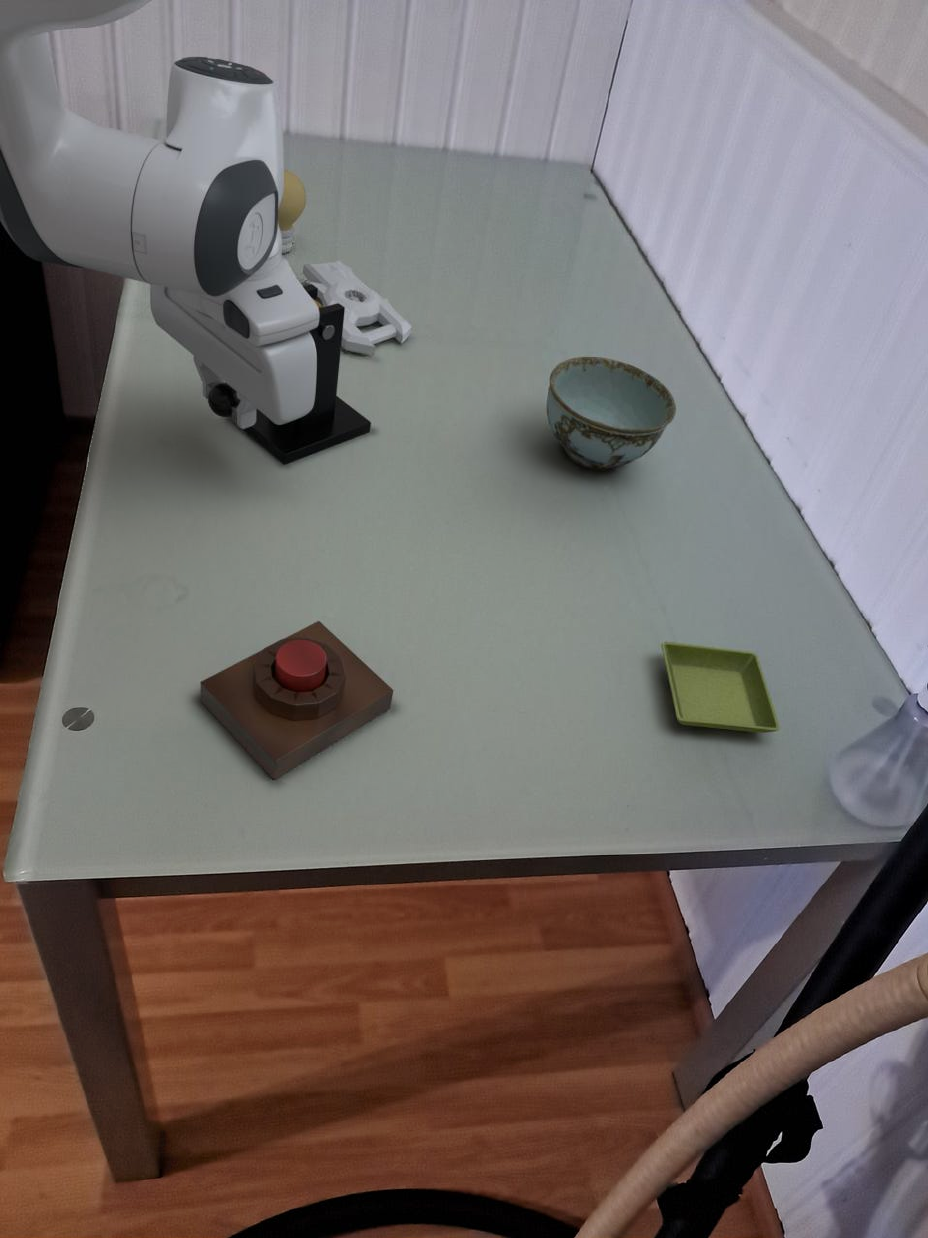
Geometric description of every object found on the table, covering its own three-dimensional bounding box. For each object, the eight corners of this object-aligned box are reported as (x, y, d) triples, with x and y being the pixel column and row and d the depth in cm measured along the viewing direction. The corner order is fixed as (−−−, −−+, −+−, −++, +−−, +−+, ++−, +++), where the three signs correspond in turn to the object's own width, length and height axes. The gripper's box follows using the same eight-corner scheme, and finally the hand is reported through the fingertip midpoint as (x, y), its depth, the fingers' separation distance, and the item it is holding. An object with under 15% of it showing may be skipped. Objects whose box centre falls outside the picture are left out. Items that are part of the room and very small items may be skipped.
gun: (277, 258, 115) (347, 250, 120) (274, 285, 117) (344, 275, 123) (357, 341, 107) (429, 327, 112) (353, 367, 109) (424, 353, 115)
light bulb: (254, 235, 127) (256, 157, 120) (302, 241, 128) (307, 164, 121) (251, 257, 122) (253, 177, 115) (302, 263, 124) (307, 184, 117)
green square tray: (669, 735, 77) (677, 719, 76) (653, 656, 83) (660, 640, 82) (770, 746, 78) (781, 731, 77) (747, 668, 85) (757, 652, 83)
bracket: (284, 464, 93) (292, 336, 84) (229, 418, 97) (231, 290, 87) (370, 431, 100) (386, 309, 90) (315, 389, 103) (325, 267, 94)
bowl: (523, 412, 108) (540, 348, 102) (636, 424, 110) (658, 362, 105) (541, 487, 98) (561, 421, 93) (665, 498, 101) (691, 435, 95)
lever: (231, 430, 89) (215, 410, 87) (211, 412, 91) (195, 393, 88) (335, 326, 91) (323, 304, 88) (314, 310, 92) (301, 288, 89)
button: (295, 700, 68) (296, 684, 67) (264, 669, 70) (265, 653, 69) (334, 677, 71) (336, 661, 69) (304, 648, 72) (305, 632, 71)
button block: (274, 780, 68) (276, 746, 65) (200, 701, 71) (199, 665, 69) (390, 708, 74) (396, 674, 71) (316, 639, 78) (320, 604, 75)
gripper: (125, 227, 83) (138, 366, 93) (269, 339, 74) (266, 480, 84) (189, 213, 86) (195, 349, 96) (333, 319, 78) (323, 456, 88)
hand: (229, 411), depth 90 cm, fingers closed on lever, 3 cm apart
